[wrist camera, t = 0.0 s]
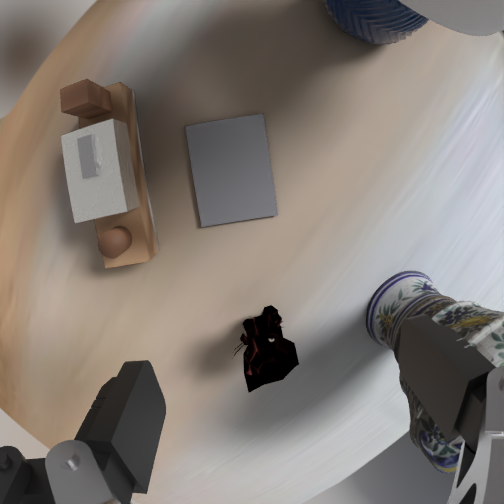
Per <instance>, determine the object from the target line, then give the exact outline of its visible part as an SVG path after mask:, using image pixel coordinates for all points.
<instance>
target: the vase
mask: <svg viewBox="0 0 504 504" xmlns="http://www.w3.org/2000/svg"><path fill="white" fill-rule="evenodd" d="M421 314H427V315H428V316H429V317H430V318H431V319H433V320H434V321H435V322H436V323H437V324H438V325H439V324H442V325H444V326H446V327H449V328H451V329H454V330H455V331H456V332H457V333H458V334H459V335H461V336H462V337H463V340H464V339H465V340H466V341H468V342H469V343H470V345H471V346H473V347H474V348H476V349H477V350H478V351H479V352H480V353H481V354H482V355H483V356H485V357H486V358H487V359H488V360H489V361H490V362H491V363H492V364H493V365H494V366H496V367H500V366H504V312H499V311H493V310H489V309H486V308H483V307H481V306H480V305H479V304H477V303H475V302H471V301H459V302H456V301H455V300H454V299H452V298H450V297H447V296H443V295H441V294H440V293H439V291H438V290H437V289H436V287H435V286H434V285H433V283H432V281H431V280H430V278H429V277H428V276H426V275H425V274H423V273H421V272H417V271H404V272H401V273H398V274H396V275H394V276H393V277H391V278H390V279H388V280H387V281H386V282H385V283H383V284H382V285H381V286H380V287H379V288H378V290H377V291H376V292H375V293H374V295H373V297H372V298H371V301H370V303H369V306H368V309H367V316H366V327H367V330H368V333H369V335H370V336H371V338H372V339H373V340H375V341H376V342H377V343H379V344H381V345H384V346H386V347H388V348H390V349H392V350H393V351H394V355H395V359H396V361H397V363H398V358H399V347H400V336H401V325H402V321H403V320H404V319H406V318H410V317H414V316H417V315H421ZM398 364H399V363H398ZM399 379H400V384H401V388H402V390H403V392H404V393H405V394H406V396H407V399H408V403H409V409H410V419H411V422H410V436H411V440H412V441H413V443H414V444H415V445H416V446H417V447H418V448H420V449H421V450H422V452H423V453H424V455H425V456H426V457H427V458H428V459H429V461H430V462H431V463H432V464H433V466H434V467H435V468H436V469H437V470H438V471H440V472H442V473H453V472H456V471H457V466H458V461H459V456H460V450H461V446H462V443H463V441H464V439H463V438H462V436H459V437H457V438H454V439H452V440H450V441H447V440H446V438H445V437H444V435H443V434H442V432H441V431H440V429H439V428H438V426H437V425H436V424H435V422H434V421H433V419H432V418H431V416H430V415H429V413H428V412H427V410H426V409H425V408H424V406H423V405H422V403H421V402H420V400H419V399H418V398H417V396H416V395H415V393H414V392H413V391H412V389H411V388H410V386H409V385H408V384H407V382H406V381H405V379H404V378H403V376H402V375H401V372H400V376H399Z"/></svg>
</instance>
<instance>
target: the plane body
mask: <svg viewBox="0 0 504 504" xmlns="http://www.w3.org/2000/svg"><path fill="white" fill-rule="evenodd" d="M60 95H61V112H63V113H67V114H71V115H74V116H78V117H79V127H80V129H82V128H85V127H88V126H91V125H94V124H97V123H100V122H103V121H107V120H110V119H115V120H118V121H121V122H123V123H126V124H127V129H128V137H129V144H130V151H131V158H132V164H133V170H134V176H135V182H136V188H137V194H138V199H139V204H140V207H137V208H135V209H132V210H130V211H127V212H123V213H118V214H114V215H109V216H104V217H100V218H96V219H94V222H95V227H96V231H97V236H98V240H99V241H98V247H99V250H100V252H101V253H102V256H103V260H104V264H105V268H111V267H117V266H123V265H129V264H135V263H142V262H148V261H150V260H151V259H152V258H153V257H154V256H155V255H156V253H157V252H158V251H159V250H160V248H159V243H158V238H157V234H156V229H155V224H154V219H153V214H152V208H151V203H150V198H149V192H148V186H147V181H146V175H145V169H144V162H143V156H142V149H141V142H140V135H139V128H138V120H137V112H136V103H135V94H134V91H132V90H131V89H130V88H128V87H127V86H125V85H124V84H122V83H121V82H119V83H115V84H112V85H109V86H106V87H101V86H99V85H97V84H95V83H94V82H92V81H90V80H88V79H85V80H82V81H80V82H77V83H74V84H72V85H69V86H67V87H65V88H62V89H60Z"/></svg>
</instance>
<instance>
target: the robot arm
mask: <svg viewBox="0 0 504 504" xmlns="http://www.w3.org/2000/svg"><path fill="white" fill-rule="evenodd" d="M398 363H399V369H400V372H401V375H402V376H403V378H404V379H405V381H406V382H407V384H408V385H409V386H410V388H411V389H412V391H413V392H414V393H415V395H416V396H417V398H418V399H419V400H420V402H421V403H422V405H423V406H424V408H425V409H426V410H427V412H428V413H429V415H430V416H431V418H432V419H433V421H434V422H435V424H436V425H437V426H438V428H439V429H440V431H441V432H442V434H443V435H444V437H445V438H446V440H447V441H450V440H452V439H454V438H457V437H459V436H462V438H463V439H464V441H463V443H462V446H461V450H460V456H459V461H458V466H457V471H456V475H455V479H454V484H453V488H452V491H451V495H450V498H449V500H448V503H447V504H504V366H500V367H496V366H494V365H493V364H492V363H491V362H490V361H489V360H488V359H487V358H486V357H485V356H483V355H482V354H481V353H480V352H479V351H478V350H477V349H476V348H474V347H473V346H471V345H470V343H469V342H468V341H466V340H465V339H464V340H463V337H462V336H461V335H459V334H458V333H457V332H456V331H455V330H454V329H451V328H449V327H446V326H444V325H442V324H439V325H438V324H437V323H436V322H435V321H434V320H433V319H431V318H430V317H429V316H428V315H427V314H421V315H417V316H414V317H410V318H406V319H404V320H403V321H402V325H401V336H400V347H399V358H398ZM165 415H166V404H165V399H164V396H163V394H162V391H161V389H160V386H159V383H158V381H157V378H156V376H155V373H154V370H153V367H152V365H151V363H150V362H149V361H148V360H145V361H128V362H125V363H124V364H123V366H122V368H121V370H120V372H119V373H118V375H117V377H112V378H111V379H110V380H109V381H108V382H107V383H106V384H104V385H103V386H102V387H101V389H100V391H99V393H98V395H97V397H96V400H94V402H93V404H92V406H91V409H90V410H89V412H88V413H87V415H86V417H85V419H84V421H83V423H82V425H81V427H80V429H79V431H78V433H77V435H76V437H75V439H74V440H67V441H64V442H61V443H59V444H57V445H55V446H54V447H53V448H52V449H51V450H50V451H49V453H48V454H47V456H46V458H39V459H25V457H24V456H23V455H22V454H21V452H20V451H19V450H18V449H17V448H15V447H12V446H4V447H0V504H132V502H131V497H132V493H144V494H147V491H148V486H149V482H150V477H151V473H152V469H153V464H154V460H155V456H156V452H157V448H158V444H159V439H160V435H161V431H162V427H163V423H164V419H165Z"/></svg>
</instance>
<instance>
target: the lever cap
mask: <svg viewBox="0 0 504 504" xmlns="http://www.w3.org/2000/svg"><path fill="white" fill-rule="evenodd" d="M61 141H62V150H63V158H64V165H65V172H66V178H67V185H68V190H69V196H70V201H71V207H72V212H73V217H74V221H75V223H78V222H83V221H87V220H91V219H96V218H100V217H104V216H109V215H114V214H118V213H123V212H127V211H130V210H132V209H135V208H137V207H140V204H139V199H138V194H137V188H136V182H135V176H134V170H133V164H132V158H131V151H130V144H129V137H128V129H127V124H126V123H123V122H121V121H118V120H115V119H110V120H107V121H103V122H100V123H97V124H94V125H91V126H88V127H85V128H82V129H79V130H76V131H73V132H70V133H68V134H65V135H62V136H61Z"/></svg>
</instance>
